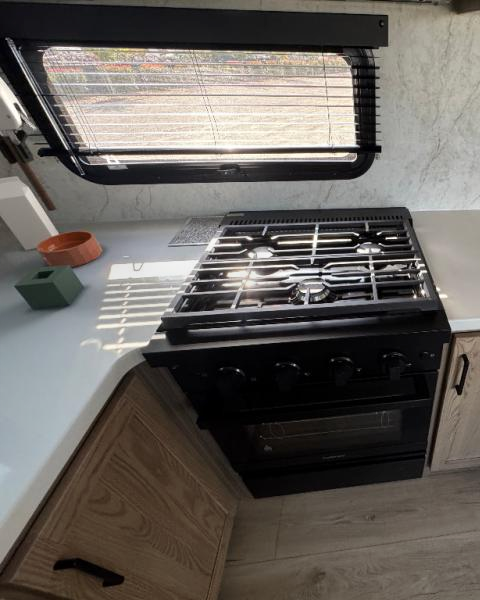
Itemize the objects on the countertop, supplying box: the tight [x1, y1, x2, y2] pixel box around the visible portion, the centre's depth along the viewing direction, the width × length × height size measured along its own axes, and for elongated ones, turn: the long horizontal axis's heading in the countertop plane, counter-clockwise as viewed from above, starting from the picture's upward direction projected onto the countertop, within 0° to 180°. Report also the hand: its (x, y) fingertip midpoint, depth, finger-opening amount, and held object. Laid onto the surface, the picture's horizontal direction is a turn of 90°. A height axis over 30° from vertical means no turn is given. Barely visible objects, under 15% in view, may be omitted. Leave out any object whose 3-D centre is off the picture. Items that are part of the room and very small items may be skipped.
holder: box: [13, 265, 85, 311], centre depth 79 cm, size 7×7×7 cm
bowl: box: [35, 230, 103, 268], centre depth 94 cm, size 12×12×6 cm
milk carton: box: [0, 175, 60, 251], centre depth 96 cm, size 7×7×19 cm
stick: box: [0, 134, 57, 212], centre depth 80 cm, size 2×2×17 cm
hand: (22, 161), depth 78 cm, fingers closed on stick, 1 cm apart
